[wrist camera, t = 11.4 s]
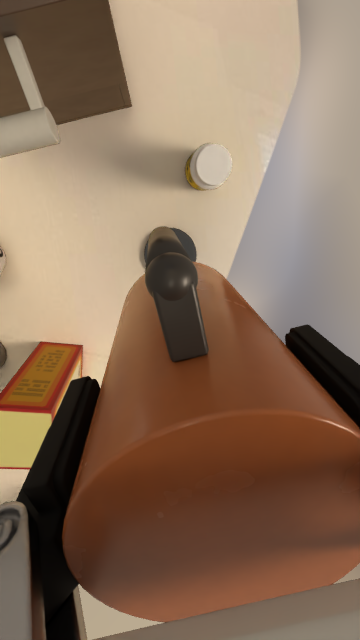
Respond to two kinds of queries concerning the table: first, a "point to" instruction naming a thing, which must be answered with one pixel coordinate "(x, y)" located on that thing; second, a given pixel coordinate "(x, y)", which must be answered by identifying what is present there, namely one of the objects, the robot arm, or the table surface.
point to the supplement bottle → (208, 167)
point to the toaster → (2, 355)
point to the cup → (2, 260)
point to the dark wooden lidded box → (85, 104)
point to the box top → (51, 63)
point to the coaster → (185, 242)
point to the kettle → (208, 457)
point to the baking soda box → (35, 401)
